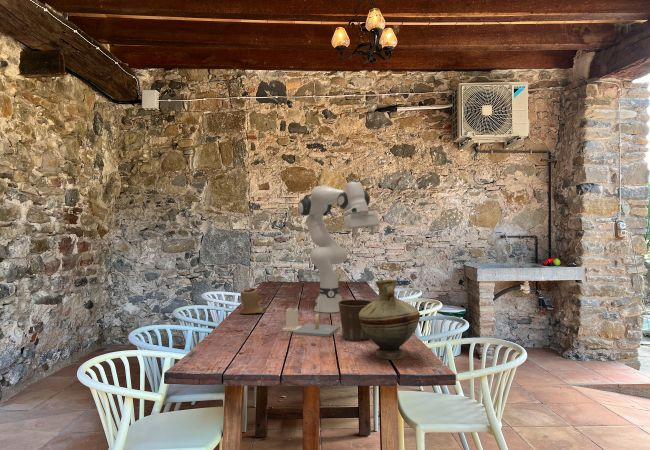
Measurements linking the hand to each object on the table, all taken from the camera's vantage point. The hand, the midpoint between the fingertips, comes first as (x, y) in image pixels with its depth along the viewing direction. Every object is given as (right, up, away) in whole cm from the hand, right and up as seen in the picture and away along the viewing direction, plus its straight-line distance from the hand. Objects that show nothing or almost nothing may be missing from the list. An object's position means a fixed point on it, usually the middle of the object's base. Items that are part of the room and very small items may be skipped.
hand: (365, 235), depth 224 cm
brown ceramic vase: (+4, -46, -56) cm, 72 cm away
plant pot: (-7, -46, -27) cm, 54 cm away
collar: (-37, -46, -10) cm, 60 cm away
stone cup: (-64, -47, +31) cm, 85 cm away
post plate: (-25, -46, -14) cm, 54 cm away
